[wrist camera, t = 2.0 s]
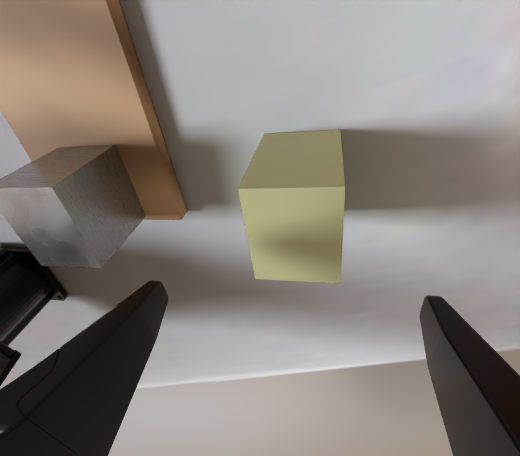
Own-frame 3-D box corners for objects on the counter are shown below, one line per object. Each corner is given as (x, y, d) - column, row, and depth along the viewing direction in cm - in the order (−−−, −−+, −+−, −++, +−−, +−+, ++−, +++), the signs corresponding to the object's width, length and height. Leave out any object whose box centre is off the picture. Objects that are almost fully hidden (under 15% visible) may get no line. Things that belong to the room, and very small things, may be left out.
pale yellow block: (337, 210, 18) (340, 283, 14) (273, 210, 19) (255, 278, 14) (340, 128, 15) (345, 186, 11) (264, 133, 16) (237, 188, 11)
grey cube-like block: (146, 215, 20) (101, 268, 16) (95, 215, 21) (41, 265, 17) (115, 144, 17) (51, 187, 13) (58, 147, 18) (-18, 188, 14)
